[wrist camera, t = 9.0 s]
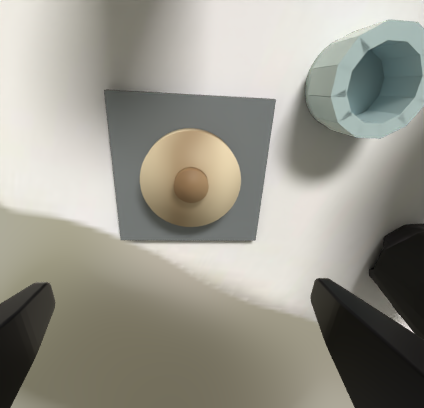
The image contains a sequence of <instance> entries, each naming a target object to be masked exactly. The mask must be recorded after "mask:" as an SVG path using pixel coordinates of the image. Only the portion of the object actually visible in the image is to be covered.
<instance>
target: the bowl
mask: <svg viewBox="0 0 424 408" xmlns="http://www.w3.org/2000/svg"><path fill="white" fill-rule="evenodd" d="M305 97H306V103H307V106H308V109H309V111H310V113H311V114H312V116H313V117H314V118H315V119H316V120H317V121H318V122H320V123H321V124H323V125H325V126H326V127H328V128H329V129H330V130H333V131H337V132H340V133H343V134H346V135H350V136H353V137H356V138H379V139H380V138H383V137H385V136H387V135H389V134H391V133H393V132H395V131H397V130H399V129H401V128H403V127H405V126H407V125H408V123H409V122H410V121H411V120H412V119H413V118H414V117H415V116H416V115H417V113H418V112H419V111H420V110H421V109H422V108H423V107H424V28H423V27H422V26H421V25H420V24H419V23H418V22H412V21H401V20H386V21H383V22H380V23H378V24H375V25H372V26H369V27H366V28H363V29H360V30H357V31H354V32H352V33H350V34H348V35H346V36H345V37H343V38H341V39H339V40H336V41H335V42H333V43H331V44H330V45H329V46H327V47H326V48H325V49H324V50H323V51H322V52H321V53H320V54H319V56H318V57H317V58H316V60H315V61H314V63H313V65H312V67H311V69H310V71H309V74H308V77H307V81H306V87H305Z"/></svg>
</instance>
